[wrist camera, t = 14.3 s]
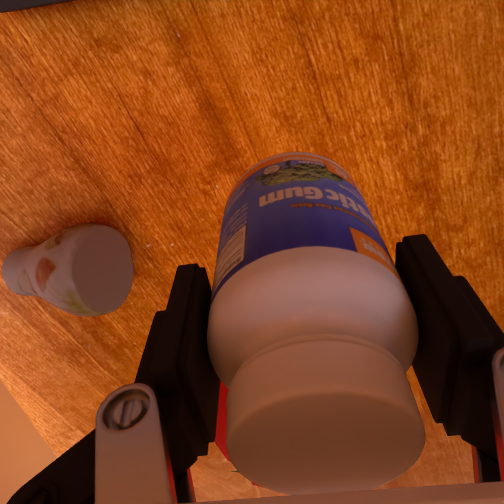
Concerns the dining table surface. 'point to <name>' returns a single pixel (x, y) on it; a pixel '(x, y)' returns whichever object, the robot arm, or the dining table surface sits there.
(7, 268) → the white floral vase
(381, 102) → the dining table surface
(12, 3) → the scale
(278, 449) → the pill bottle
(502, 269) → the dining table surface
